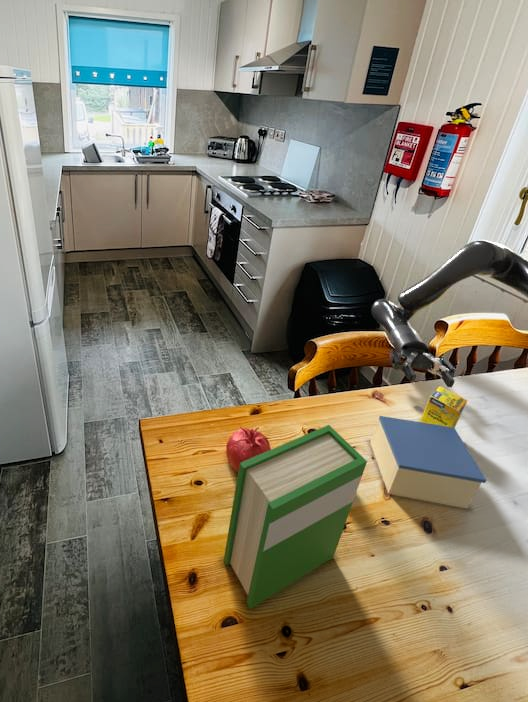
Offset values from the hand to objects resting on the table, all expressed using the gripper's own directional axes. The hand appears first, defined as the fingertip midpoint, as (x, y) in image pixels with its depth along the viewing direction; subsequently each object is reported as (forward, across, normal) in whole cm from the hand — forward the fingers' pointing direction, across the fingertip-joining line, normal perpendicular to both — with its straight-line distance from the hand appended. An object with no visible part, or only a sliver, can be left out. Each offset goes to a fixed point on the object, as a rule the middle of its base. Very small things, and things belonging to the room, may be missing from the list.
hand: (432, 382), depth 97 cm
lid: (+21, -9, +1) cm, 22 cm away
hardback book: (+44, -39, +9) cm, 59 cm away
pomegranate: (+26, -44, +9) cm, 52 cm away
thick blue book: (+20, -9, +9) cm, 24 cm away
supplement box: (+8, 0, +9) cm, 12 cm away
